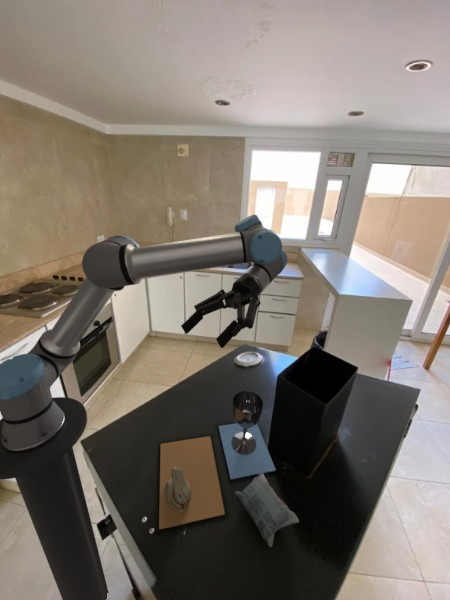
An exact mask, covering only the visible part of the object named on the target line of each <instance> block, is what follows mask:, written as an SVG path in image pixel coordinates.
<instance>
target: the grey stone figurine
mask: <svg viewBox="0 0 450 600" xmlns="http://www.w3.org/2000/svg"><path fill="white" fill-rule="evenodd" d="M165 499H166V501H167V503H168V505H169V507H170V508H171V509H172V510H174V511H176V512H177V513H185V512H186V511H187V510H188V508H189V504H190V503H189V502H190V499H191V487H190V484H189V483H188V481H187V480H186V479H185V476H184V473H183V471H182V469H181V468H179V467H178V468H176V467H173V468H172V479H170V480H169V481H168V482H167V483H166V486H165Z"/></svg>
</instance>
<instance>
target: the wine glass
mask: <svg viewBox="0 0 450 600" xmlns="http://www.w3.org/2000/svg"><path fill="white" fill-rule="evenodd" d="M263 407H264V402H263V399H262V397H261V396H260V395H259V394H257V393H255V392H254V391H248V390H243V391H239V392H238V393H236V394H234V396H233V398H232V408H231V409H232V416H233V419H234V421H235V423H237V424H238V425H239V426H241V427H242V428H243V432H240V433H237V434H235V435H234V436H233V438H232V441H231V444H232V447H233V449H234V450H235V451H236V452H238V453H239V454H243V455H248V454H251V453H252V452H254V450H255V449H256V440H255V439H254V437H253V436H252V435H250V434H249V433H247V430H248V428H251V427H253V426H255V425H256V424H257V425H258V423H259V421H260V420H261V416H262V414H263V409H264V408H263Z"/></svg>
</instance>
